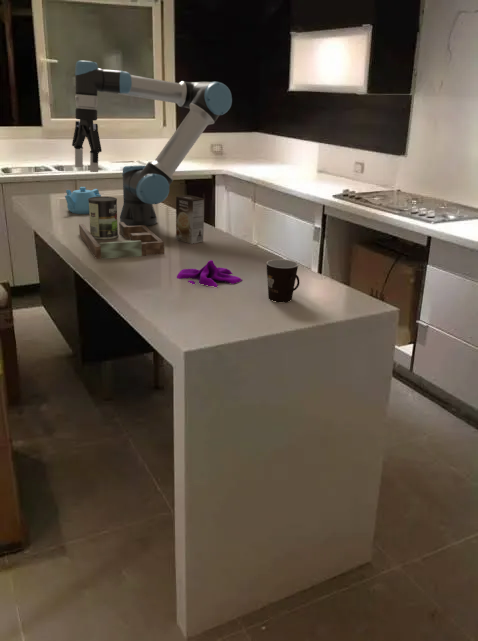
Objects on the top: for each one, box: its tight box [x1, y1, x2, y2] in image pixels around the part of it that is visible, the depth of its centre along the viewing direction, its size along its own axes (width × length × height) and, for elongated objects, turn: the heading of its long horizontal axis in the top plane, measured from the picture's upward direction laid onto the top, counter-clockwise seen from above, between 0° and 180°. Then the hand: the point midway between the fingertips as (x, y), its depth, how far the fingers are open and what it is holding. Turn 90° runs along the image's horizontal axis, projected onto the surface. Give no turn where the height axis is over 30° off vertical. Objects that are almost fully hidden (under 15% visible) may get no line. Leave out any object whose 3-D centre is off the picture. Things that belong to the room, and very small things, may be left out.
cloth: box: [176, 259, 243, 288], centre depth 184 cm, size 22×19×6 cm
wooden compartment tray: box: [78, 221, 165, 260], centre depth 220 cm, size 23×36×5 cm, turn 22°
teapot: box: [64, 186, 102, 215], centre depth 271 cm, size 15×15×11 cm
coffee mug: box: [265, 258, 300, 303], centre depth 167 cm, size 12×9×10 cm
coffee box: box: [175, 194, 205, 245], centre depth 227 cm, size 9×6×16 cm
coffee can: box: [88, 196, 119, 240], centre depth 229 cm, size 10×10×14 cm
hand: (86, 169), depth 225 cm, fingers open, 13 cm apart
